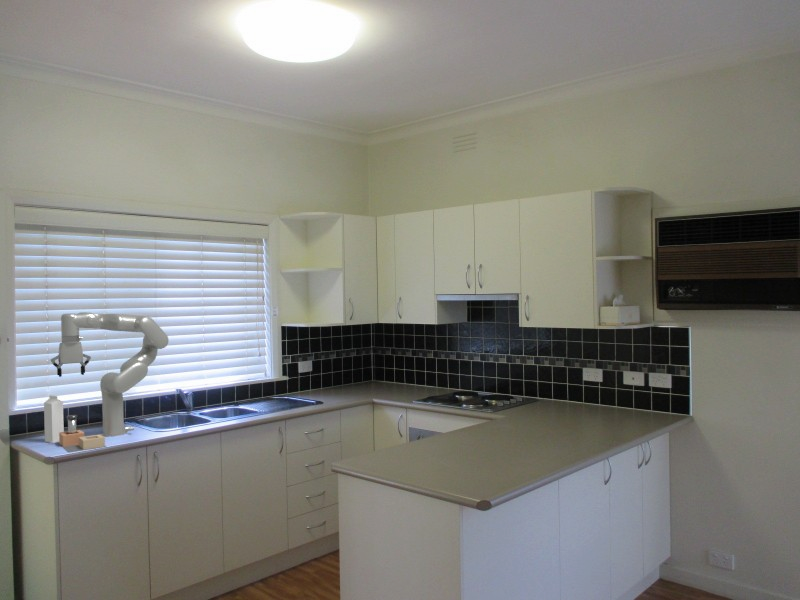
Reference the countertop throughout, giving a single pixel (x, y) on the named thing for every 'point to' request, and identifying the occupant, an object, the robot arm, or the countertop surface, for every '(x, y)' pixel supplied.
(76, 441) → the board
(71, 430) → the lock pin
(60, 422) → the milk
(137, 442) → the countertop surface
